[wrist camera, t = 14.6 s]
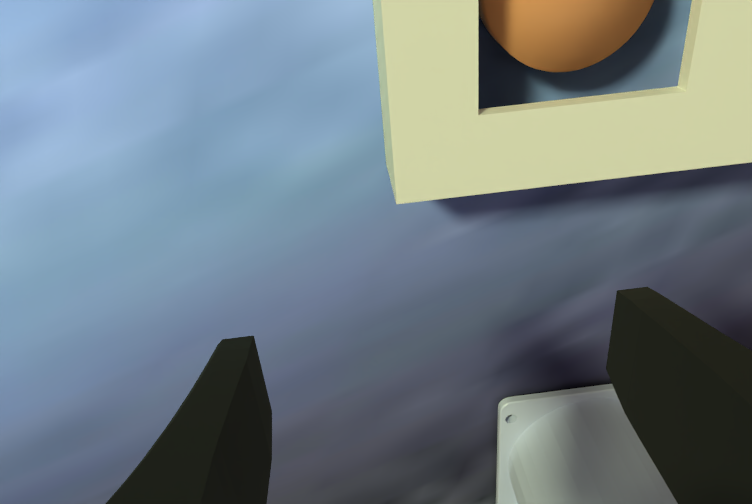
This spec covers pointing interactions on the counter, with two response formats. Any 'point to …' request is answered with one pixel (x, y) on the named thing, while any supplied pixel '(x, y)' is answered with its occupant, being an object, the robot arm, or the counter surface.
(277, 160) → the counter surface
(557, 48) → the button
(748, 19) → the cream square frame
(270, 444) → the robot arm
